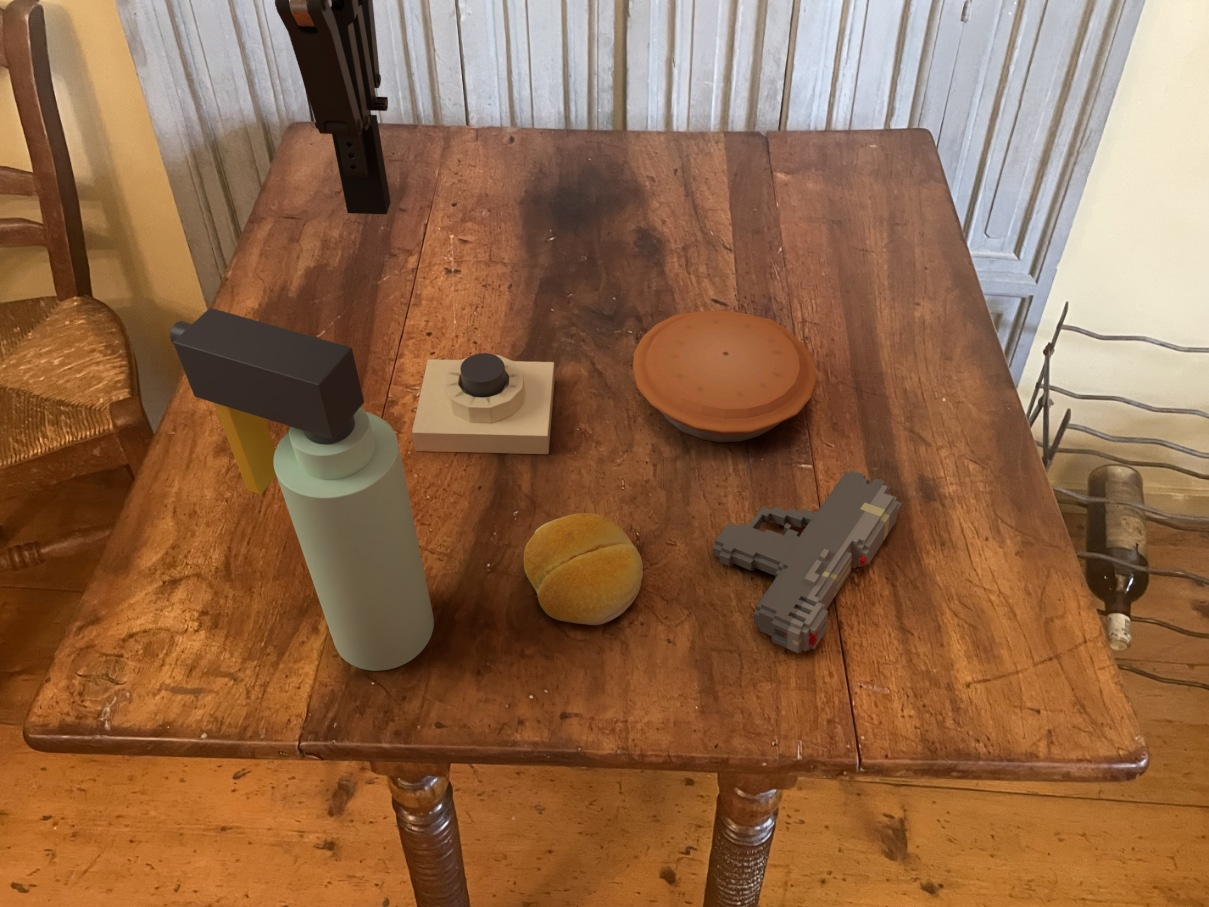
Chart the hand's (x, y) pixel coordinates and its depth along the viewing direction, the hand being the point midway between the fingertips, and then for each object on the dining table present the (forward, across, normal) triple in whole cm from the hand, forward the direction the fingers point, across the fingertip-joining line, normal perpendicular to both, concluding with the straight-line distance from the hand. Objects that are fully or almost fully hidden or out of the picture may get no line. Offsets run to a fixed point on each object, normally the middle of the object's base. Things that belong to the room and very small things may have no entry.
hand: (369, 207), depth 68 cm
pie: (+21, +5, -27) cm, 34 cm away
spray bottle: (+21, -19, +1) cm, 29 cm away
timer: (+21, +2, -6) cm, 22 cm away
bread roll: (+21, -15, -16) cm, 30 cm away
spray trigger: (+8, -18, +4) cm, 20 cm away
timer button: (+17, +1, -6) cm, 19 cm away
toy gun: (+21, -13, -31) cm, 40 cm away
